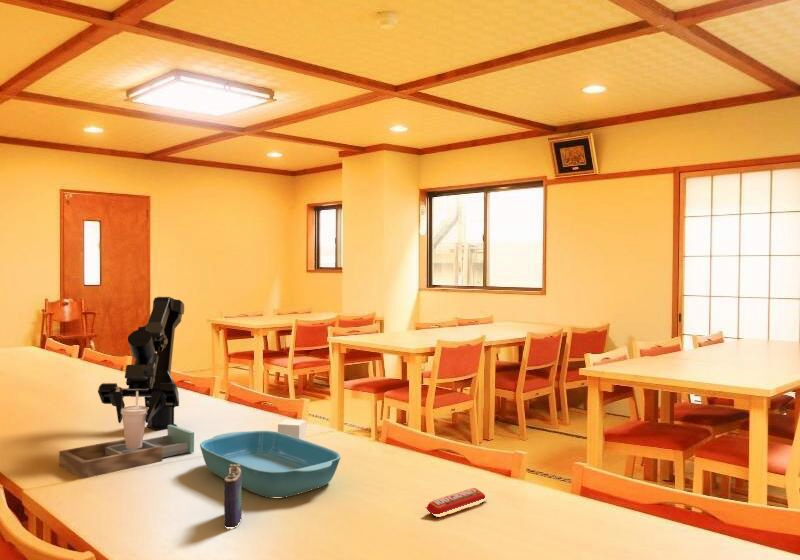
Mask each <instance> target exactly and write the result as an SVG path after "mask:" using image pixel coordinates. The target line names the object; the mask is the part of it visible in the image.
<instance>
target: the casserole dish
mask: <svg viewBox="0 0 800 560" xmlns="http://www.w3.org/2000/svg"><path fill="white" fill-rule="evenodd" d="M199 449H200V451H201V454H202V456H203V457H202V458H203V460H204V463H205V465H206V468H207V469H208V470H209V471H210V472H211V473H213V474H214V475H216V476H218V477H219V478H222V479H223V480H224V479H225V478H226V477H227V476H228V470H229V468H231V467H230V466H229V465H231V464H232V465H234V464H235V465H237V464H238V465H240V466H238V467H239V468H240V469H241V472H242V478H241V480H242V484H241V488H242V487H243V488H242V489H244V488H245V489H244V490H246V489H247V491H249V490H250V491H249V492H251V491H252V492H251V493H254V494H256V493H257V495H259V494H260V495H259V496H261V495H263V496H262V497H264V496H267V497H266V498H268V497H285V498H287V497H286V496H290V497H292V496H291V495H294V496H296V495H295V494H298V493H301V492H304V493H306V492H305V491H308V490H311V489H314V490H316V489H315V488H317V489H319V488H318V487H320V488H322V487H321V486H323V487H325V486H326V485H328V484H329V483H330V482H331V481H332V480H333V477H334V475H335V473H336V470H337V469H338V466H339V463H340V460H341V454H340V453H339V452H337V451H335V450H333V449H331V448H328V447H326V446H322V445H319V444H316V443H314V442H311V441H308V440H306V441H305V440H302V439H299V438H296V437H293V436H290V435H286V434H283V433H279V432H278V431H274V430H273V431H272V430H248V431H233V432H232V431H231V432H227V433H221V434H217V435H215V436H212V437H211V438H208V439H205V440H203V441H201V442H200V443H199ZM324 485H325V486H324ZM311 491H312V490H311ZM308 492H309V491H308ZM301 494H302V493H301ZM298 495H299V494H298Z"/></svg>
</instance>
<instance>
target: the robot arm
mask: <svg viewBox="0 0 800 560" xmlns="http://www.w3.org/2000/svg"><path fill="white" fill-rule="evenodd" d="M184 313H185V303H184V302H183V301H181V300H180V299H174V298H173V297H171V296H156V297H154V298H153V301H152V310H151V313H150V315H149V318H148V321H147V323H146V324H145V325H143V326H138V327H137V328H138V329H137V330H135V331H134V330H133V331H132V332H131V333H130V334H129V335H128V337H127V341H128V346H129V349H130V352H131V356H132V358H134V362H133V364H126V365H125V372H124V379H126V381H125V385H126V386H128V387H126V388H125V387H124V388H123V387H121V386H118V383H116V382H115V383H114V382H109V383H108V382H106V383H105V382H102V383H101V384H99V386H98V389H97V393H98V396H99V399H100V401H101V403H102V404H104V405H111V406H113V407H115V408H116V417H117V421H118V423H119V424H121V423H122V422H123V418H122V414H121V409H122V408H124V407H126V405H125V401H124V397H131V398H136V391H138V398H144V405H145V407H148V411H147V414H146V421H145V426H146V427H148V428H150V429H153V430H155V431H159V430H165V429H168V425H174V426H177V427H178V425H177V424H175V408H176V407H179V406H180V398H179V391H178V390H179V389H178V385H177V384H176V383H175V381H174V379H173V377H172V374H171V370H172V360H173V352H174V343H175V342H174V340H175V331H176V329H177V327H178V326H179V324H181V322H182V316H183V315H184ZM146 423H147V424H146Z"/></svg>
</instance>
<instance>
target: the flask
mask: <svg viewBox="0 0 800 560" xmlns="http://www.w3.org/2000/svg"><path fill="white" fill-rule="evenodd" d="M229 466H230V467H231V468H229V470H228V476H227V477H226V478H225V479H223V484H224V485H223V486H224V487H223V488H224V490H223V492H224V493H223V494H224V499H223V501H224V503H223V509H224V521H223V523H224V525H225V526H226V527H235V526H237V525H238V523H239V522H240V519H241V520H242V487H241V484H242V480H241V478H242V472H241V469H240V468H239V467H238V466H240V465H238V464H237V465H235V464H234V465H232V464H231V465H229ZM240 523H241V522H240Z"/></svg>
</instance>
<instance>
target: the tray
mask: <svg viewBox="0 0 800 560" xmlns="http://www.w3.org/2000/svg"><path fill="white" fill-rule="evenodd" d="M157 446H162V459H163V458H166V457H167V458H168V457H172V456H176V455H177V456H178V455H181V454H186V453H190V454H191V453H194V452H195V432H194V431H190V430H188V429H185V428H183V427H179V426H178V425H177V426H174V425H168V428H167V435H162V436H158V437H151V438H148V439H143V442H142V447H141V448H138V449H127V448H126V443H125V444H120V445H114V446H109V447H105V457H107V456H112V455H117V454H122V453H127V452H132V451H137V450H142V449H147V448H152V447H157Z"/></svg>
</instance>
